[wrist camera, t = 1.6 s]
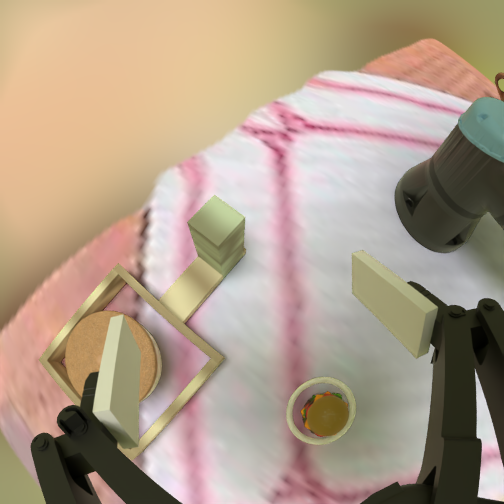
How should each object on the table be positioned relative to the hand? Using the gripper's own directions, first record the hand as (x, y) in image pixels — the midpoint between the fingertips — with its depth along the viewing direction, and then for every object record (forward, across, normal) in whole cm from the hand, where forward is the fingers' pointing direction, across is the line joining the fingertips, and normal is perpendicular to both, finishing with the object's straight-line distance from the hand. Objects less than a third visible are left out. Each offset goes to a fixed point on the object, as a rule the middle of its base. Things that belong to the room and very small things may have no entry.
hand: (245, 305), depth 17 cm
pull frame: (+18, -9, -13) cm, 24 cm away
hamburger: (+8, +7, -24) cm, 27 cm away
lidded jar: (+16, -14, -15) cm, 26 cm away
